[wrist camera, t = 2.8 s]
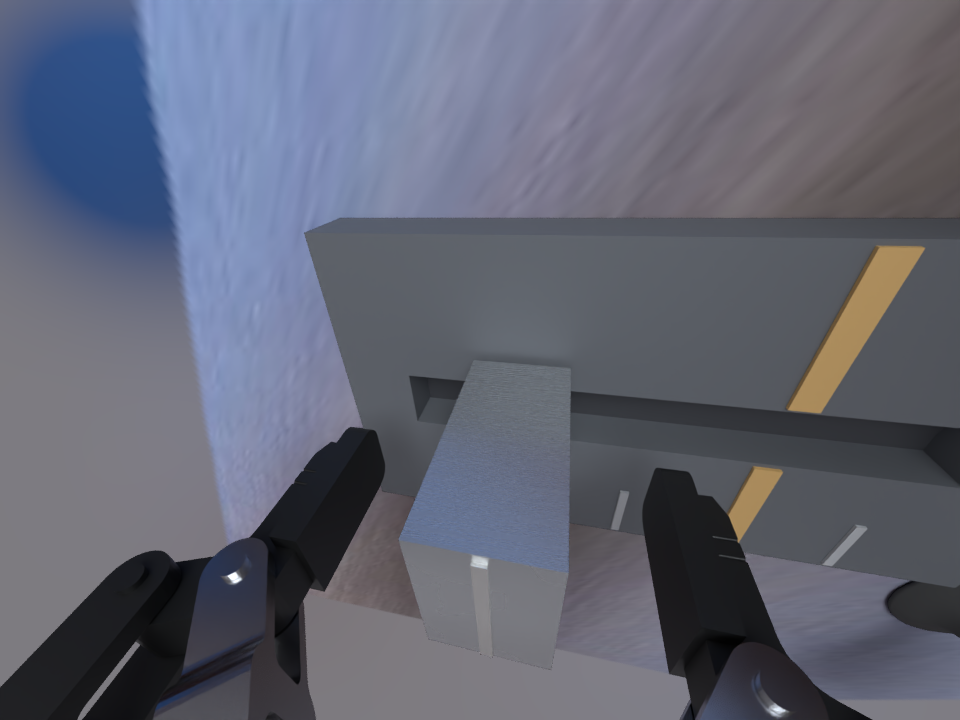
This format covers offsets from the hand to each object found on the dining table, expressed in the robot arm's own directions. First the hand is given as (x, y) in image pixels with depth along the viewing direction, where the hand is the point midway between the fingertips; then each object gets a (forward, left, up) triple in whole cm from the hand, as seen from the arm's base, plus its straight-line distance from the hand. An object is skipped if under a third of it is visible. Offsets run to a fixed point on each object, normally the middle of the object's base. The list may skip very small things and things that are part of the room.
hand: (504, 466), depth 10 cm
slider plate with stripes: (-5, 0, -5) cm, 7 cm away
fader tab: (0, 0, -5) cm, 5 cm away
